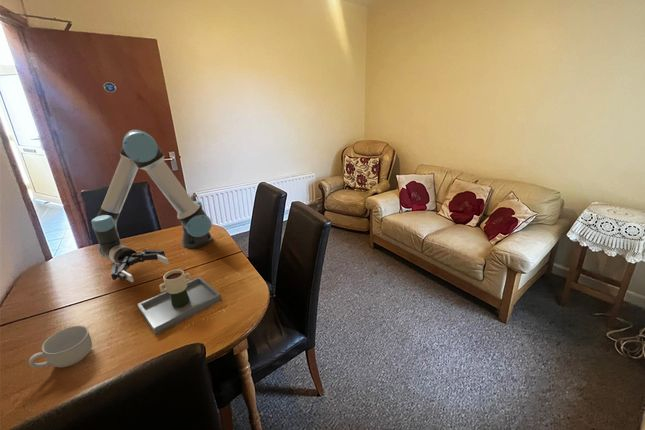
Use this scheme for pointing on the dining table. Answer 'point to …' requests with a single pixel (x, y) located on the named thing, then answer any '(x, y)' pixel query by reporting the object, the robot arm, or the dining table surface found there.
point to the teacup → (64, 347)
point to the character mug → (176, 287)
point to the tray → (167, 316)
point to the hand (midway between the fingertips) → (150, 269)
